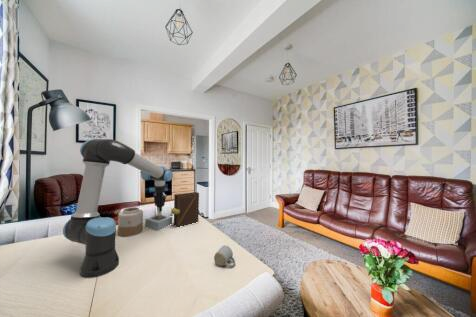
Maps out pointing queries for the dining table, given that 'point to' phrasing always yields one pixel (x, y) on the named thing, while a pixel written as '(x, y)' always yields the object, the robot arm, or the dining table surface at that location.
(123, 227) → the vase
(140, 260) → the dining table surface
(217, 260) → the ceramic mug
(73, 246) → the dining table surface
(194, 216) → the book
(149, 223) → the socket block
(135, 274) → the dining table surface
